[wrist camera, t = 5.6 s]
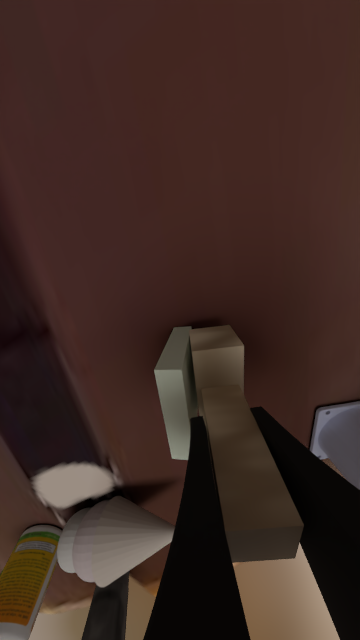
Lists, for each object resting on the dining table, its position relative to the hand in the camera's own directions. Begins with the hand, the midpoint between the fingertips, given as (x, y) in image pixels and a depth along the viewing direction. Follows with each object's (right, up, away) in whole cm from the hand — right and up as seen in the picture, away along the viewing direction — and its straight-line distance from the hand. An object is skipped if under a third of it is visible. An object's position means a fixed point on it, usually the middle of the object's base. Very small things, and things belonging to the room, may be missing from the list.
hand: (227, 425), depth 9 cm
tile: (-2, +2, +6) cm, 7 cm away
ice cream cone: (-9, -16, +12) cm, 22 cm away
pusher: (0, +2, +5) cm, 5 cm away
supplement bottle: (-20, -23, +14) cm, 34 cm away
